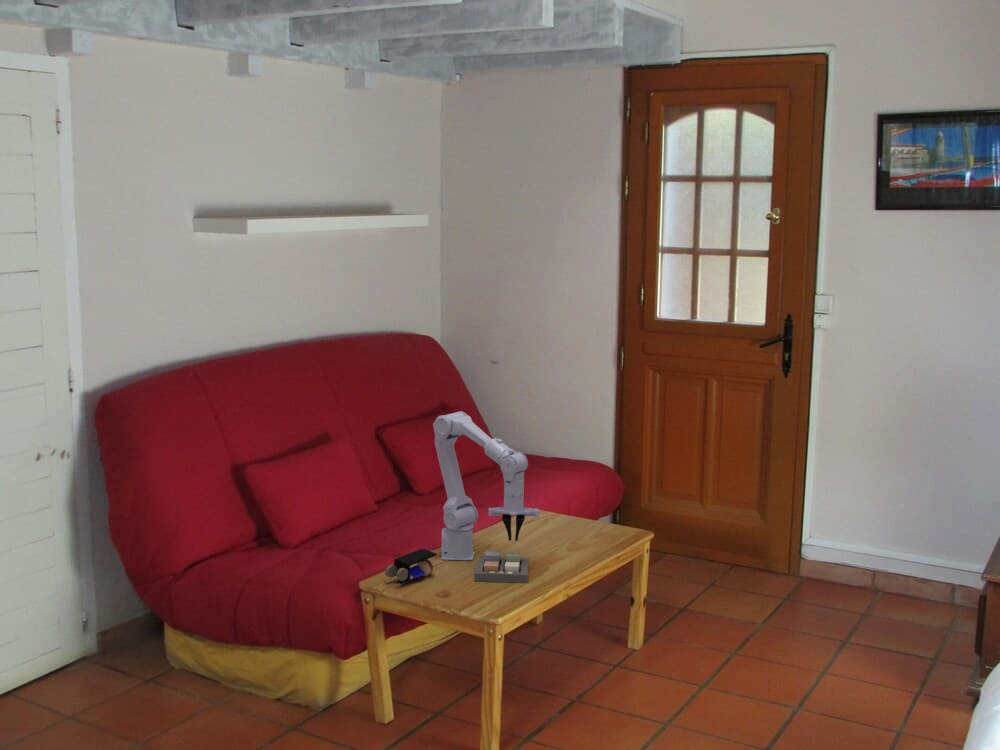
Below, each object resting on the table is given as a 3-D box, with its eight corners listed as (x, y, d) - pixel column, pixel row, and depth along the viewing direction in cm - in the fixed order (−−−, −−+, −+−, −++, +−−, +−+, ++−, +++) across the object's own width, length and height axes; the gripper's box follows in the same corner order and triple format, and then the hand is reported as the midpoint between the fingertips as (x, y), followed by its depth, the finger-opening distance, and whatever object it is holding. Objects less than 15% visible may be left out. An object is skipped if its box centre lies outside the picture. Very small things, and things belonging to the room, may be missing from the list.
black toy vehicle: (402, 593, 321) (439, 575, 332) (399, 568, 319) (437, 550, 330) (385, 588, 325) (422, 569, 336) (383, 563, 323) (420, 545, 334)
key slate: (485, 565, 335) (485, 555, 334) (486, 561, 339) (486, 550, 338) (499, 566, 335) (499, 555, 334) (499, 561, 339) (499, 551, 338)
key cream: (504, 573, 329) (504, 566, 328) (505, 568, 333) (505, 561, 332) (518, 573, 328) (518, 566, 328) (519, 568, 332) (519, 562, 332)
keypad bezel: (474, 581, 327) (474, 572, 327) (478, 564, 342) (478, 556, 341) (527, 583, 326) (527, 574, 326) (528, 565, 341) (528, 557, 340)
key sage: (505, 566, 335) (506, 555, 334) (506, 561, 338) (506, 551, 338) (519, 566, 334) (519, 556, 334) (520, 562, 338) (520, 551, 338)
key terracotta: (483, 572, 329) (483, 565, 329) (484, 567, 333) (484, 561, 333) (497, 572, 329) (497, 566, 328) (498, 568, 333) (498, 561, 332)
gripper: (488, 497, 329) (487, 543, 332) (538, 498, 329) (537, 544, 331) (489, 491, 336) (489, 535, 339) (539, 492, 336) (538, 537, 338)
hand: (513, 539), depth 335 cm, fingers closed
